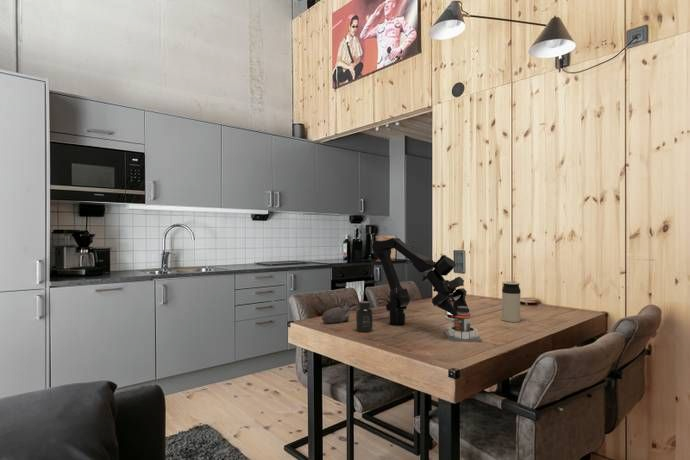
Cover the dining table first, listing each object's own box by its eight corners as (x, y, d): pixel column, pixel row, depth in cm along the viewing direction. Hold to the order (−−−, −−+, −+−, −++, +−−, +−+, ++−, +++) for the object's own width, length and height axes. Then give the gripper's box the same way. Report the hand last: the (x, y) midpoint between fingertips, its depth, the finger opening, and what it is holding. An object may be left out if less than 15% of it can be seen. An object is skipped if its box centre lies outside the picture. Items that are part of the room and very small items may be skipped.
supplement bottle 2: (451, 334, 163) (451, 306, 163) (461, 332, 167) (461, 304, 167) (463, 338, 158) (463, 308, 158) (473, 335, 162) (473, 307, 162)
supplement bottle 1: (374, 329, 175) (374, 301, 175) (370, 333, 168) (370, 303, 168) (359, 328, 177) (359, 300, 177) (354, 331, 170) (354, 302, 170)
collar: (449, 341, 157) (449, 332, 157) (444, 333, 169) (444, 324, 169) (481, 341, 156) (482, 332, 156) (474, 333, 168) (474, 325, 168)
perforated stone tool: (324, 325, 181) (324, 309, 181) (319, 323, 186) (319, 307, 186) (353, 321, 189) (353, 306, 189) (347, 319, 194) (347, 304, 194)
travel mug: (501, 321, 191) (502, 282, 191) (502, 318, 198) (502, 280, 198) (520, 323, 188) (520, 283, 188) (520, 319, 195) (520, 281, 195)
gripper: (438, 272, 159) (464, 304, 152) (462, 268, 173) (487, 298, 165) (421, 289, 165) (445, 322, 157) (446, 285, 178) (469, 315, 171)
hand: (462, 313), depth 162 cm, fingers open, 9 cm apart
